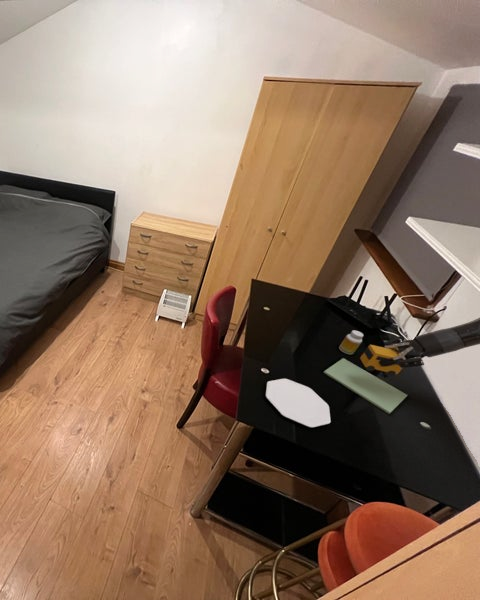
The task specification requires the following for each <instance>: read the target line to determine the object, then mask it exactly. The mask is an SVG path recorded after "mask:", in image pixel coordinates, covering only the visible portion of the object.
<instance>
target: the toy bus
mask: <svg viewBox="0 0 480 600" xmlns="http://www.w3.org/2000/svg"><path fill="white" fill-rule="evenodd" d="M392 349H393V348H391V349H388V348H383V346H378V345H374V344H369V345H368V346H367V347H366V348H365V349H364V350H363V353H362V354H361V356H360V357H359V359H360V360H361V363H362V364H363V366H364V367H365V369H366V371H367V372H368V371H369V372H373V371H375V370H376V371H381V372H385V373H386V375H387V376H389V377H393V376H395V375H398V374H399V373H400V372H401V371H402V370H403V368H401V367H400V366H399V365H396V364H394V365H390V366H386V367H382V366H381V365H380V363H379V361H382V360H386V359H389V358H392V359H393V358H394V357H396V356H398V354H399V353H400V352H398V351H395V350H392ZM399 360H401V359H399ZM403 364H408V363H403Z"/></svg>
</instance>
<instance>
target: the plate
mask: <svg viewBox="0 0 480 600" xmlns="http://www.w3.org/2000/svg"><path fill="white" fill-rule="evenodd" d="M265 399H266V400H268V402H269V403H271V405H272V406H273V407H274V408H275V409H276V410H277V411H278V413H279V414H280V415H281V416H282V417H284V418H287V419H288V420H290V421H293V422H296V423H298V424H301V425H302V426H305V427H308V428H311V429H312V428H316V427H321V426H326V425H329V424H330V423H331V422H332V421H331V413H330V412H331V411H330V406H329V404H328V403H327V402H326V401H325V400H324V399H323V398H321V397H320V396H319V395H318V394H317V393H316V392H315V391H314V390H313V389H312V388H311V387H309V386H307V385H304V384H302V383H300V382H299V383H298V382H296V381H293V380H291V379H288V378H279V379H275V380H273V379H272V380H269V381H267V382H266V388H265Z"/></svg>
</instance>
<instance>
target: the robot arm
mask: <svg viewBox="0 0 480 600" xmlns="http://www.w3.org/2000/svg"><path fill="white" fill-rule="evenodd" d="M478 345H480V317H478V318H476V319H473V320H471V321H469V322H465V323H462V324H458V325H455V326H452V327H448V328H447V327H446V328H442V329H438V330H434V331H430V332H427V333H424V334H419V335H417V336H414V338H413V339H407V338H405V337H404V336H403V335H399V336H397V337H393V338H392V339H389V340H388V341H385V342H384V347H383V346H382V347H383V348H388V349H392V350H395V351H398V352H400V353H399V354H398V356H396V357H394V358H393V359H392V358H389V359H386V360H382V361H379V363H380V365H381V366H382V367H386V366H390V365H394V364H396V365H399V366H400V367H401V368H402V369H403V368H404V369H405V368H413V367H422V366H424V365H425V362H424V361H423V359H424V358H426V357H427V358H432V357H433V358H434V357H436V356H437V357H438V356H441V355H445V354H449V353H453V352H457V351H460V350H462V349H463V350H464V349H465V348H470V347H474V346H478ZM399 359H401V360H399ZM403 363H407V364H403Z"/></svg>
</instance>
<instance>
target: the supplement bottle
mask: <svg viewBox="0 0 480 600" xmlns="http://www.w3.org/2000/svg"><path fill="white" fill-rule="evenodd" d="M363 337H364V333H363V332H361V331H358V330H354V329H353V330H351V332H350V333H347V334H346V335H345V337H344V339H343V341H342V342H341V344H340V345H339V346H338V349H339V350H340V351H341V352H342V353H344V354H347V355H354V354H355V353H356V351H357V349H358V348H359V346H360V345H361V344H362V342H363Z"/></svg>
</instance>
